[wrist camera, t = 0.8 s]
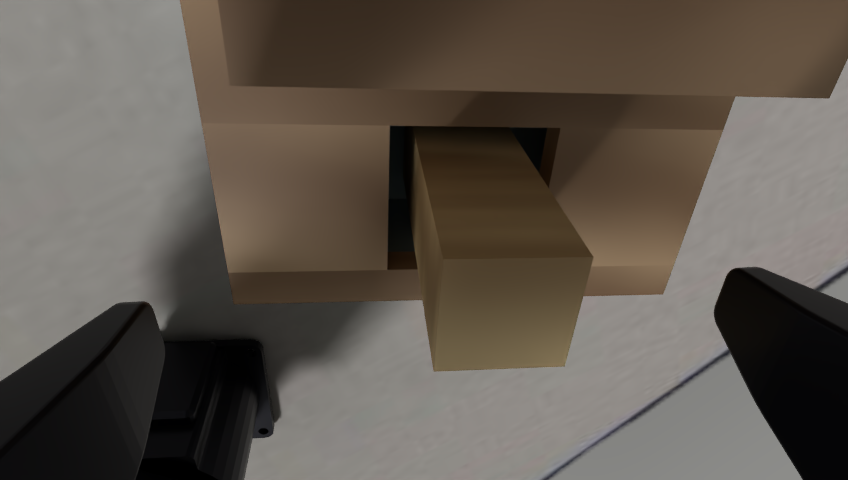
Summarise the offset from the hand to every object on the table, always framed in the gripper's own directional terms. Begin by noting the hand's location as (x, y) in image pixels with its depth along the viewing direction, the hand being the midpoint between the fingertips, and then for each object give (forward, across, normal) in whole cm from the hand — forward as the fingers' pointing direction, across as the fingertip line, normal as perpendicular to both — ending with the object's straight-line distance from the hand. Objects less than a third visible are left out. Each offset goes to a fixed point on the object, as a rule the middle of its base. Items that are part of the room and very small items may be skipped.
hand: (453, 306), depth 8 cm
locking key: (+12, -2, +2) cm, 12 cm away
